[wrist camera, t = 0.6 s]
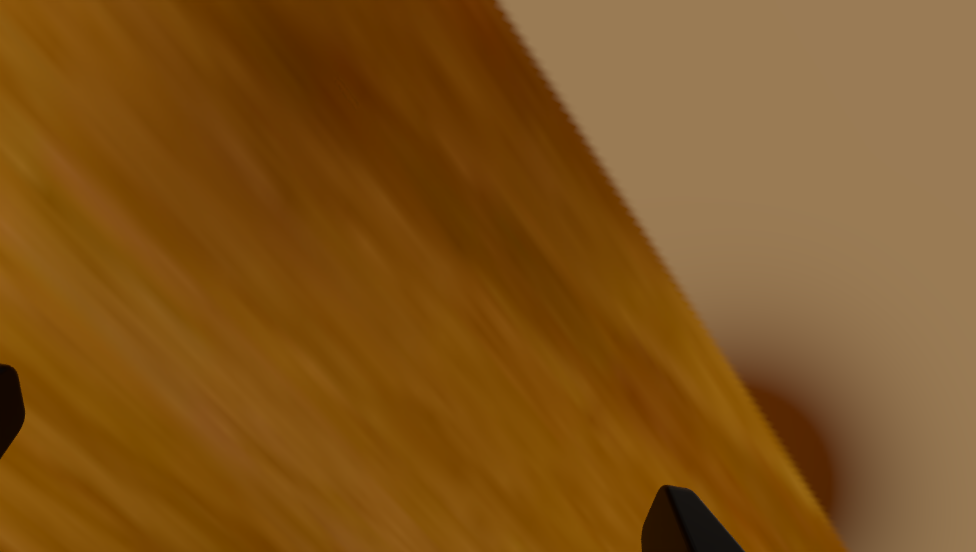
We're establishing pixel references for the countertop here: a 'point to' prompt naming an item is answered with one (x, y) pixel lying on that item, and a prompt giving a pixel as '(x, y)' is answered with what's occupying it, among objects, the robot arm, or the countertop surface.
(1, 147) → the countertop surface
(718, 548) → the robot arm
